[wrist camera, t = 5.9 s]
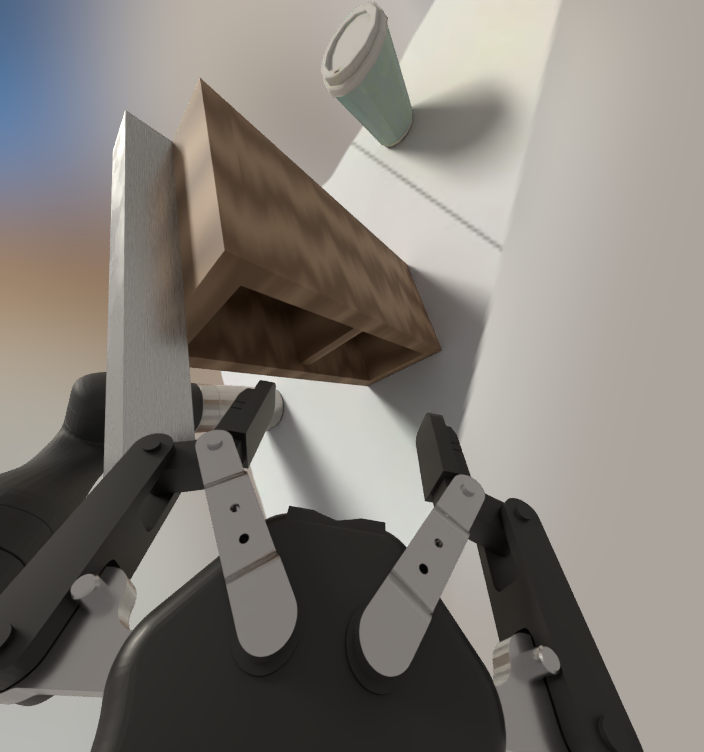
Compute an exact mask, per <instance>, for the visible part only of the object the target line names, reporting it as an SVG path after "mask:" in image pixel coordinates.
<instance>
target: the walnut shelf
mask: <svg viewBox="0 0 704 752" xmlns="http://www.w3.org/2000/svg"><path fill="white" fill-rule="evenodd" d="M172 146H173V159H174V172H175V185H176V198H177V211H178V225H179V238H180V251H181V264H182V277H183V290H184V303H185V316H186V329H187V342H188V355H189V367H192V368H202V369H211V370H220V371H230V372H239V373H249V374H258V375H267V376H277V377H286V378H296V379H305V380H314V381H324V382H333V383H343V384H352V385H362V386H369V385H371V384H373V383H375V382H377V381H379V380H381V379H383V378H386V377H388V376H390V375H392V374H394V373H396V372H398V371H400V370H402V369H404V368H406V367H408V366H410V365H412V364H415V363H417V362H419V361H421V360H423V359H425V358H427V357H429V356H431V355H433V354H435V353H437V352H439V351H442V349H441V347H440V344H439V342H438V340H437V337H436V335H435V332H434V330H433V327H432V325H431V322H430V320H429V318H428V315H427V313H426V310H425V308H424V305H423V303H422V300H421V298H420V296H419V293H418V291H417V288H416V286H415V283H414V281H413V278H412V276H411V274H410V271H409V269H408V266H407V264H406V263H405V262H404V261H403V260H402V259H400V258H399V257H398V256H397V255H396V254H395V253H394V252H393V251H392V250H390V249H389V248H388V247H387V246H386V245H385V244H384V243H383V242H382V241H380V240H379V239H378V238H377V237H376V236H375V235H374V234H373V233H372V232H370V231H369V230H368V229H367V228H366V227H365V226H364V225H363V224H362V223H360V222H359V221H358V220H357V219H356V218H355V217H354V216H353V215H352V214H350V213H349V212H348V211H347V210H346V209H345V208H344V207H343V206H342V205H341V204H339V203H338V202H337V201H336V200H335V199H334V198H333V197H332V196H331V195H329V194H328V193H327V192H326V191H325V190H324V189H323V188H322V187H321V186H319V185H318V184H317V183H316V182H315V181H314V180H313V179H312V178H311V177H309V176H308V175H307V174H306V173H305V172H304V171H303V170H302V169H301V168H299V167H298V166H297V165H296V164H295V163H294V162H293V161H292V160H290V158H288V157H287V156H286V155H285V154H284V153H283V152H282V151H280V150H279V149H278V148H277V147H276V146H275V145H274V144H273V143H272V142H271V141H270V140H268V139H267V138H266V137H265V136H264V135H263V134H262V133H261V132H260V131H258V130H257V129H256V128H255V127H254V126H253V125H252V124H251V123H250V122H248V121H247V120H246V119H245V118H244V117H243V116H242V115H241V114H240V113H238V112H237V111H236V110H235V109H234V108H233V107H232V106H231V105H230V104H228V103H227V102H226V101H225V100H224V99H223V98H222V97H221V96H219V94H217V93H216V92H215V91H214V90H213V89H212V88H211V87H210V86H208V85H207V84H206V83H205V82H204V81H203V80H202V79H201V78H200V79H199V81H198V83H197V86H196V88H195V90H194V92H193V95H192V97H191V100H190V102H189V104H188V106H187V109H186V111H185V113H184V116H183V118H182V120H181V123H180V125H179V127H178V130H177V132H176V134H175V136H174V139H173V141H172Z"/></svg>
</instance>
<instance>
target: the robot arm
mask: <svg viewBox="0 0 704 752" xmlns="http://www.w3.org/2000/svg"><path fill="white" fill-rule="evenodd" d="M106 374H107V372H100V373H93V374H89V375H85V376H83V377H81V378H79V379H78V380H77V381H76V382H75V384H74V386H73V388H72V391H71V394H70V399H69V403H68V407H67V412H66V417H65V420H64V423H63V426H62V428H61V429H60V431H59V432H58V434H57V435H56V436H55V437H54V438H53V440H52V441H51V442H50V443H49V444H48V445H47V446H46V447H45V448H44V449H43V450H42V451H40V452H39V453H38V454H37V455H36V456H35V457H34V458H33V459H31V460H30V461H29V462H28V463H26V464H24V465H23V466H21V467H19V468H16V469H14V470H11V471H8V472H5V473H1V474H0V703H1V704H19V705H23V706H32V705H36V704H39V703H42V702H44V701H46V700H47V699H49V698H51V697H52V696H54V695H64V696H84V697H103V701H102V708H101V714H100V719H99V724H98V728H97V732H96V736H95V739H94V742H93V746H92V749H91V752H643V749H642V747H641V744H640V742H639V739H638V737H637V735H636V733H635V730H634V728H633V726H632V724H631V722H630V720H629V717H628V715H627V713H626V710H625V709H624V706H623V704H622V702H621V699H620V697H619V695H618V693H617V691H616V688H615V686H614V684H613V682H612V679H611V677H610V675H609V673H608V670H607V668H606V666H605V664H604V661H603V659H602V657H601V655H600V653H599V650H598V648H597V646H596V644H595V641H594V639H593V637H592V635H591V633H590V631H589V628H588V626H587V624H586V622H585V619H584V617H583V615H582V613H581V610H580V608H579V606H578V604H577V601H576V599H575V597H574V595H573V592H572V590H571V588H570V586H569V584H568V581H567V579H566V577H565V575H564V573H563V570H562V568H561V566H560V564H559V561H558V559H557V557H556V555H555V552H554V550H553V548H552V546H551V543H550V541H549V539H548V537H547V535H546V532H545V530H544V528H543V526H542V524H541V522H540V519H539V517H538V515H537V514H536V512H535V511H534V510H533V509H532V508H531V507H530V506H529V505H528V504H526V503H525V502H523V501H521V500H519V499H516V498H510V499H508V500H507V501H506V502H505V503H504V502H502V501H499V500H497V499H495V498H493V497H491V496H489V495H487V494H485V493H484V490H483V488H482V487H481V485H480V484H479V483H478V482H477V481H476V480H475V479H473V478H471V476H470V473H469V470H468V467H467V464H466V461H465V458H464V455H463V453H462V449H461V446H460V445H459V444H460V443H459V440H458V437H457V435H456V433H455V432H454V431H453V430H452V428H451V427H448V426H446V425H445V421H444V418H443V416H442V415H437V414H431V413H427V414H426V416H425V418H424V420H423V422H422V424H421V426H420V428H419V431H418V433H417V437H416V447H417V454H418V460H419V466H420V473H421V479H422V485H423V492H424V498H425V501H428V502H433V504H434V508H433V510H432V511H431V513H430V514H429V516H428V517H427V519H426V520H425V521H424V523H423V524H422V526H421V527H420V529H419V530H418V532H417V533H416V535H415V536H414V538H413V539H412V541H411V542H410V544H409V545H408V547H407V548H406V546H405V545H404V544H403V543H402V542H401V541H400V540H399V539H398V538H396V537H395V536H394V535H392V534H390V533H389V532H387V531H385V523H384V522H379V521H373V520H367V519H352V520H342V521H336V520H334V519H331V518H329V517H327V516H325V515H323V514H321V513H318V512H316V511H314V510H310V509H304V508H299V507H293V506H289V509H288V512H287V513H285V514H279V515H275V516H273V517H270V518H268V519H266V520H265V519H264V516H263V514H262V511H261V508H260V506H259V503H258V500H257V497H256V494H255V492H254V489H253V486H252V484H251V481H250V478H249V475H248V473H247V472H246V471H244V469H243V468H248V467H249V465H250V463H251V461H252V459H253V457H254V455H255V453H256V450H257V448H258V446H259V444H260V442H261V440H262V438H263V436H264V433H265V431H269V429H270V428H272V427H275V426H276V425H277V424H278V423H279V421H280V420H281V417H282V413H283V401H282V397H281V395H280V393H279V392H278V391H277V390H276V385H275V383H273V382H268V381H262V380H260V381H259V382H258V384H257V385H256V387H245V386H229V385H212V384H196V383H191V394H192V407H193V420H194V433H201V432H207V433H205V434H203V435H202V436H201V437H199V438H198V439H197V440H192V441H180V442H173V439H172V438H171V437H170V436H169V435H167V434H163V433H155V434H150V435H147V436H144V437H142V438H141V439H139V440H137V441H136V442H135V443H134V444H133V445H132V446H131V447H130V448H129V450H128V451H127V452H126V453H125V454H124V455H123V456H122V458H121V459H120V460H119V461H118V462H117V463H116V464H115V465H114V467H113V468H112V469H111V470H110V471H109V472H108V473H107V475H106V476H105V477H104V478H103V479H102V480H101V481H100V483H99V484H98V485H97V486H96V487H95V488H94V489H93V491H92V492H91V493H90V494H89V495H88V493H89V491H90V490H91V488H92V487H93V485H94V484H95V482H96V481H97V480H98V478H99V477H100V476H101V475H102V474H103V473H104V442H105V408H106ZM202 489H205V492H206V497H207V501H208V506H209V511H210V515H211V520H212V524H213V529H214V533H215V537H216V542H217V547H218V551H219V556H218V557H217V558H216V559H215V560H214V561H212V562H211V563H210V564H209V565H208V566H206V567H205V568H204V569H203V570H201V571H200V572H199V573H198V574H197V575H195V576H194V577H193V578H192V579H190V581H188V582H187V583H186V584H184V585H183V586H182V587H181V588H179V589H178V590H177V591H176V592H175V593H173V594H172V595H171V596H170V597H168V599H166V600H165V601H164V602H162V603H161V604H160V605H159V606H157V607H156V608H155V609H154V610H153V611H151V612H150V613H149V614H148V615H147V616H146V617H145V618H144V619H143V620H142V621H141V622H140V623H139V624H138V625H137V626H136V627H135V629H134V630H133V631H132V630H130V628H129V620H130V615H131V612H132V610H133V607H134V604H135V601H136V595H137V593H136V588H135V586H134V585H133V583H132V582H131V581H130V579H131V578H132V576H133V574H134V572H135V571H136V569H137V567H138V566H139V564H140V562H141V560H142V559H143V557H144V555H145V554H146V552H147V550H148V548H149V547H150V545H151V543H152V542H153V540H154V538H155V536H156V535H157V533H158V531H159V530H160V528H161V526H162V524H163V523H164V521H165V519H166V518H167V516H168V514H169V512H170V511H171V509H172V507H173V506H174V504H175V502H176V500H177V499H178V497H179V495H180V493H181V492H187V491H195V490H202ZM87 495H88V496H87ZM468 539H469V540H471V541H473V542H475V543H477V547H478V551H479V556H480V559H481V564H482V568H483V573H484V577H485V581H486V585H487V590H488V594H489V598H490V602H491V606H492V611H493V615H494V620H495V624H496V628H497V632H498V637H499V641H500V642H499V643H498V644H497V645H496V646H495V647H494V650H493V668H494V669H493V672H494V675H493V680H492V678H491V676H490V674H489V672H488V670H487V668H486V667H485V665H484V663H483V662H482V660H481V659H480V657H479V656H478V654H477V653H476V651H475V650H474V648H473V647H472V645H471V644H470V642H469V641H468V639H467V638H466V636H465V635H464V633H463V632H462V630H461V629H460V627H459V626H458V624H457V623H456V621H455V619H454V618H453V616H452V615H451V613H450V612H449V610H448V609H447V607H446V606H445V604H444V603H443V602H442V600H441V598H440V596H441V594H442V592H443V590H444V588H445V586H446V584H447V582H448V580H449V578H450V575H451V573H452V571H453V569H454V567H455V565H456V563H457V561H458V559H459V557H460V555H461V553H462V551H463V548H464V546H465V544H466V542H467V540H468Z"/></svg>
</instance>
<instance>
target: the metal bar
mask: <svg viewBox="0 0 704 752" xmlns="http://www.w3.org/2000/svg"><path fill="white" fill-rule="evenodd" d="M109 273H110V275H109V306H108V341H107V343H108V344H107V374H106V408H105V442H104V476H103V477H105V476H106V475H107V473H108V472H109V471H110V470H111V469H112V468H113V467H114V465H115V464H116V463H117V462H118V461H119V460H120V459H121V458H122V456H123V455H124V454H125V453H126V452H127V451H128V450H129V448H130V447H131V446H132V445H133V444H134V443H135V442H136V441H137V440H139V439H141V438H142V437H144V436H147V435H150V434H155V433H163V434H167V435H169V436H170V437H171V438H172V439H173V442H180V441H192V440H195V433H194V420H193V407H192V394H191V381H190V368H189V355H188V342H187V329H186V316H185V303H184V290H183V277H182V264H181V251H180V238H179V225H178V211H177V198H176V185H175V172H174V159H173V146H172V141H170V140H169V139H168V138H166V137H165V136H163V135H162V134H160V133H159V132H157V131H156V130H154V129H153V128H151V127H150V126H148V125H147V124H145V123H144V122H142V121H141V120H139V119H138V118H136V117H135V116H133V115H132V114H130V113H129V112H128V111H126V110H125V113H124V116H123V120H122V123H121V126H120V130H119V133H118V136H117V139H116V143H115V146H114V149H113V170H112V204H111V238H110V272H109Z"/></svg>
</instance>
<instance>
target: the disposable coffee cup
mask: <svg viewBox="0 0 704 752" xmlns="http://www.w3.org/2000/svg"><path fill="white" fill-rule="evenodd" d="M387 20H388V17H387V16H386V15H385V13H384V11H383V10H382V9H381V8H380V7H379V6H378V5H377V4H376V3H375V2H373V3H371V2H368V3H365V4H363V5H361V6H358V7H357V8H356V9H355V10H354V11H352V13H350V14H349V15H348V16H347V18H345V19H344V21H343V22H342V23H341V25H340V26H339V28H338V29H337V31H336V32H335V34H334V35H333V37H332V38H331V40H330V42H329V45H328V47H327V49H326V51H325V54H324V56H323V60H322V67H321V73H322V75H323V76H324V78H323V82H324V84H325V85H326V87H327V90H328V91H329V93H330V94H331V96H332V97H336V98H337V99H338V100H339V101H340V102H341V103H342V104H343V105H344V106H345V108H346V109H347V110H348V111H349V112H350V113H351V114H352V115H353V116H354V117H355V118H356V119H357V120H358V121H359V122H360V123H361V124H362V125H363V126H364V127H365V128H366V129H367V130H368V131H369V132H370V133H371V134H372V135H373V136H374V137H375V138H376V139H377V141H378V142H379V143H380V144H381V145H384V146H385V147H392V146H394V145H396V144H398V143H399V142H401V140H402V139H403V138H404V137H405V136H406V135H407V133H408V131H409V129H410V127H411V125H412V107H411V103H410V100H409V96H408V93H407V89H406V86H405V83H404V79H403V76H402V72H401V69H400V66H399V62H398V59H397V55H396V52H395V49H394V45H393V42H392V38H391V35H390V32H389V28H388V25H387Z"/></svg>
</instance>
